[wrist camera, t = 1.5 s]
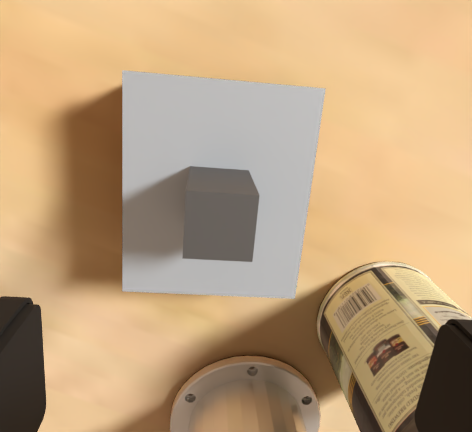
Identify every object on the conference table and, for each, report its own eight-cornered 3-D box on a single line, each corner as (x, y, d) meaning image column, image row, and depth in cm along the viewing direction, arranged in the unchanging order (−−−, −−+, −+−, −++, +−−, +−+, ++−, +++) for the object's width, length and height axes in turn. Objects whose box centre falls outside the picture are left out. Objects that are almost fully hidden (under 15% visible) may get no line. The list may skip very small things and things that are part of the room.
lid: (291, 290, 27) (314, 349, 21) (125, 283, 26) (102, 342, 20) (320, 88, 23) (358, 92, 17) (125, 70, 22) (97, 69, 16)
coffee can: (408, 382, 36) (526, 563, 23) (297, 355, 34) (355, 533, 21) (464, 278, 33) (637, 416, 20) (346, 244, 31) (448, 369, 18)
